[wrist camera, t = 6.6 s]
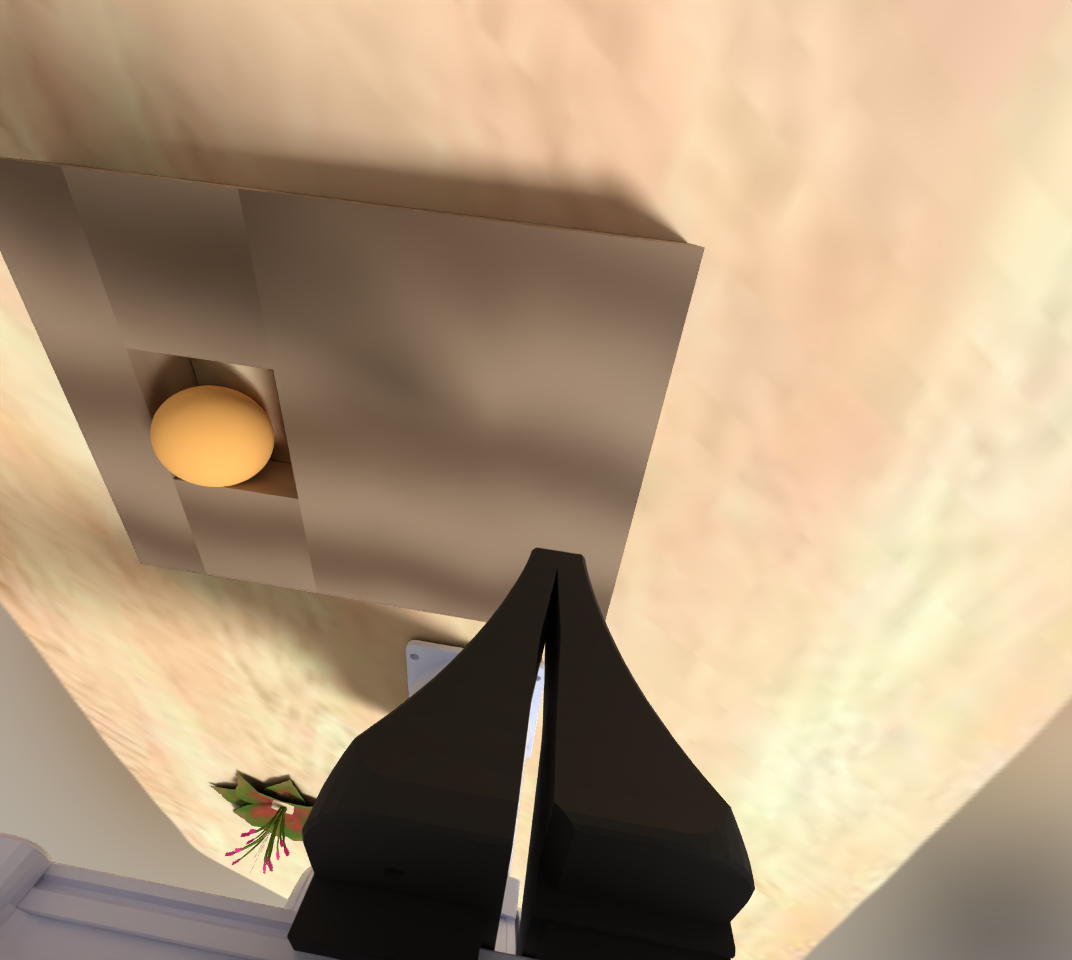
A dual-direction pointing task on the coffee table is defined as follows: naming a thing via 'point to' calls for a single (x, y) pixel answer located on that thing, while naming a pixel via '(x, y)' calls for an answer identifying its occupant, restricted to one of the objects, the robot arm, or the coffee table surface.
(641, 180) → the coffee table surface
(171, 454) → the ball
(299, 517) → the plate
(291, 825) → the lily flower
